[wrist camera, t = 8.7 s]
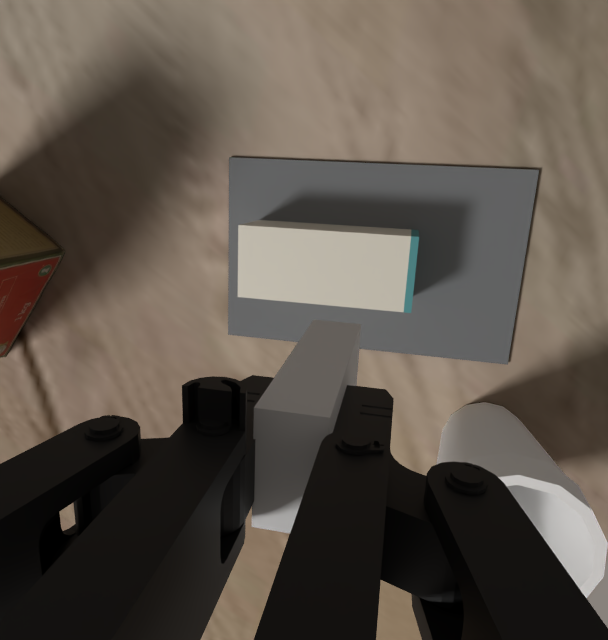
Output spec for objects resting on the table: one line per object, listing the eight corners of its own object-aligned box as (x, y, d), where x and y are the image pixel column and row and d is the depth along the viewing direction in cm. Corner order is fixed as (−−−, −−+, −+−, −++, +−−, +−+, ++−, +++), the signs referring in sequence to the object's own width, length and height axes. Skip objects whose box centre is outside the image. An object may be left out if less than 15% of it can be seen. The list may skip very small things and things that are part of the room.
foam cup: (409, 472, 43) (408, 591, 30) (437, 371, 40) (448, 456, 28) (526, 504, 41) (575, 641, 29) (564, 401, 38) (634, 505, 26)
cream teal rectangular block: (411, 297, 38) (257, 283, 41) (418, 229, 37) (259, 219, 39) (411, 313, 34) (237, 296, 36) (419, 236, 32) (238, 224, 35)
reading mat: (229, 333, 43) (228, 334, 42) (230, 157, 39) (229, 157, 39) (506, 363, 39) (507, 364, 38) (538, 170, 35) (539, 169, 35)
